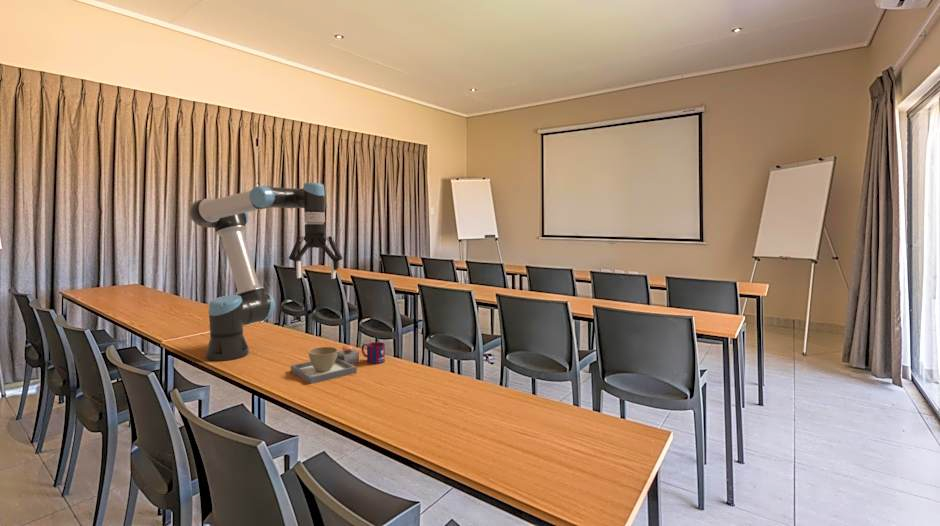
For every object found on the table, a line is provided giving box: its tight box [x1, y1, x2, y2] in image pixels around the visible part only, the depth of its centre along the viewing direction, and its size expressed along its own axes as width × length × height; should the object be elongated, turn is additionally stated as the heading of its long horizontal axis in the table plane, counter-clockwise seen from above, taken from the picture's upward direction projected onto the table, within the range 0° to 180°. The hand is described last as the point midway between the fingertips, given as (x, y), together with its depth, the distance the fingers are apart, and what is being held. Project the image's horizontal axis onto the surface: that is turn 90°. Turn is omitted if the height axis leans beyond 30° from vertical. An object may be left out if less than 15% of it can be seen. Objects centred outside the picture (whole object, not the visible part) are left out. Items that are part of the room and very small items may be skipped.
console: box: [337, 348, 360, 365], centre depth 178 cm, size 6×6×4 cm
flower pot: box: [308, 346, 339, 372], centre depth 166 cm, size 10×10×7 cm
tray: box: [290, 357, 358, 385], centre depth 167 cm, size 17×17×2 cm
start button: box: [341, 345, 354, 353], centre depth 178 cm, size 4×4×3 cm
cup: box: [361, 341, 386, 365], centre depth 180 cm, size 7×10×7 cm
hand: (316, 278), depth 180 cm, fingers open, 13 cm apart
